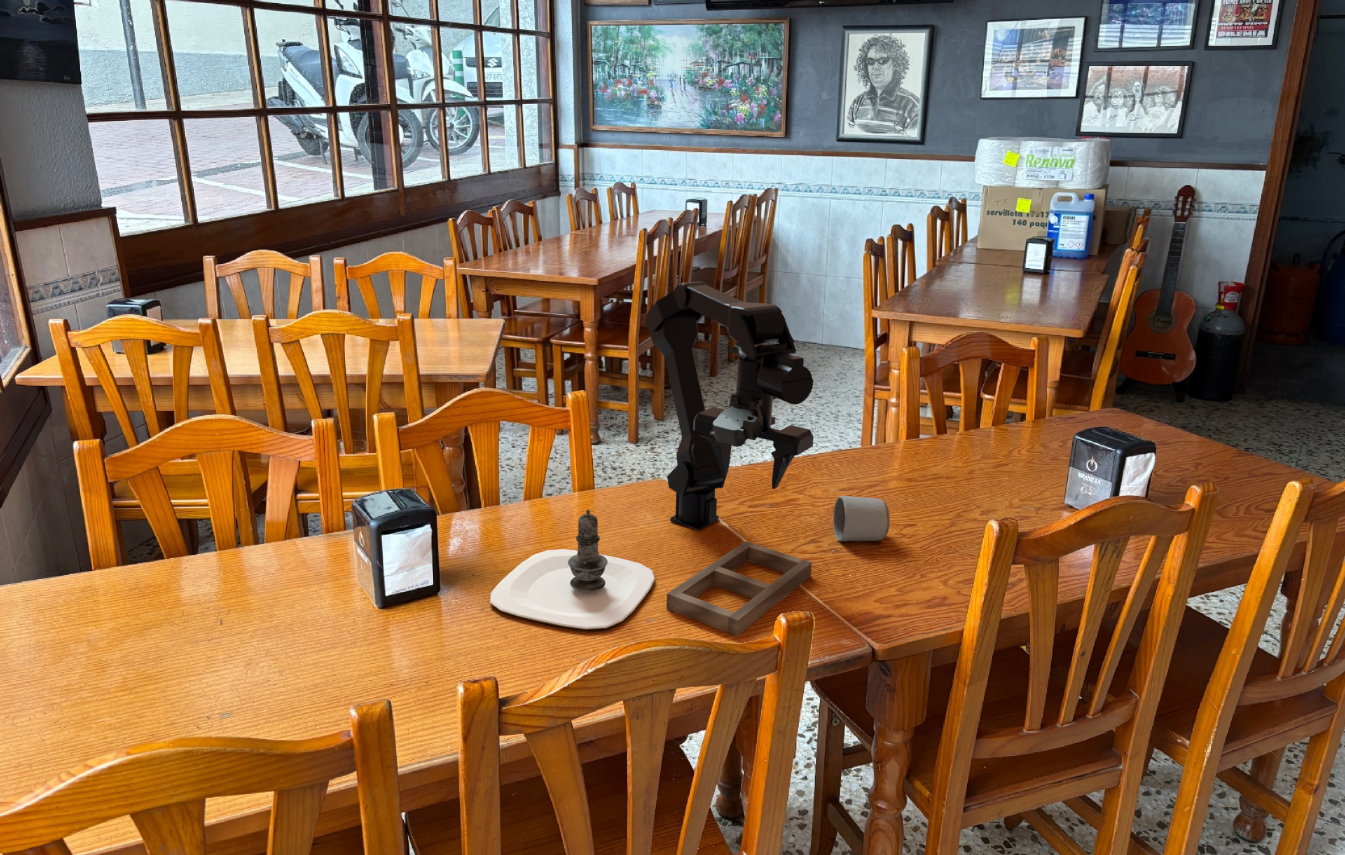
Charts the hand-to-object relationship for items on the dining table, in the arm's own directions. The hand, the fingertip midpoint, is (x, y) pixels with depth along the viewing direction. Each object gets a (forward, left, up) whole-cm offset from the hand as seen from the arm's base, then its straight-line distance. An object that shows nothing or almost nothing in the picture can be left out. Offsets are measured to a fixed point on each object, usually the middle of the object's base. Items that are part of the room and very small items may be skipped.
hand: (749, 481), depth 146 cm
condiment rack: (+6, -11, -13) cm, 18 cm away
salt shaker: (-13, -25, -12) cm, 30 cm away
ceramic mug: (+11, +19, -13) cm, 25 cm away
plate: (-14, -26, -14) cm, 33 cm away
